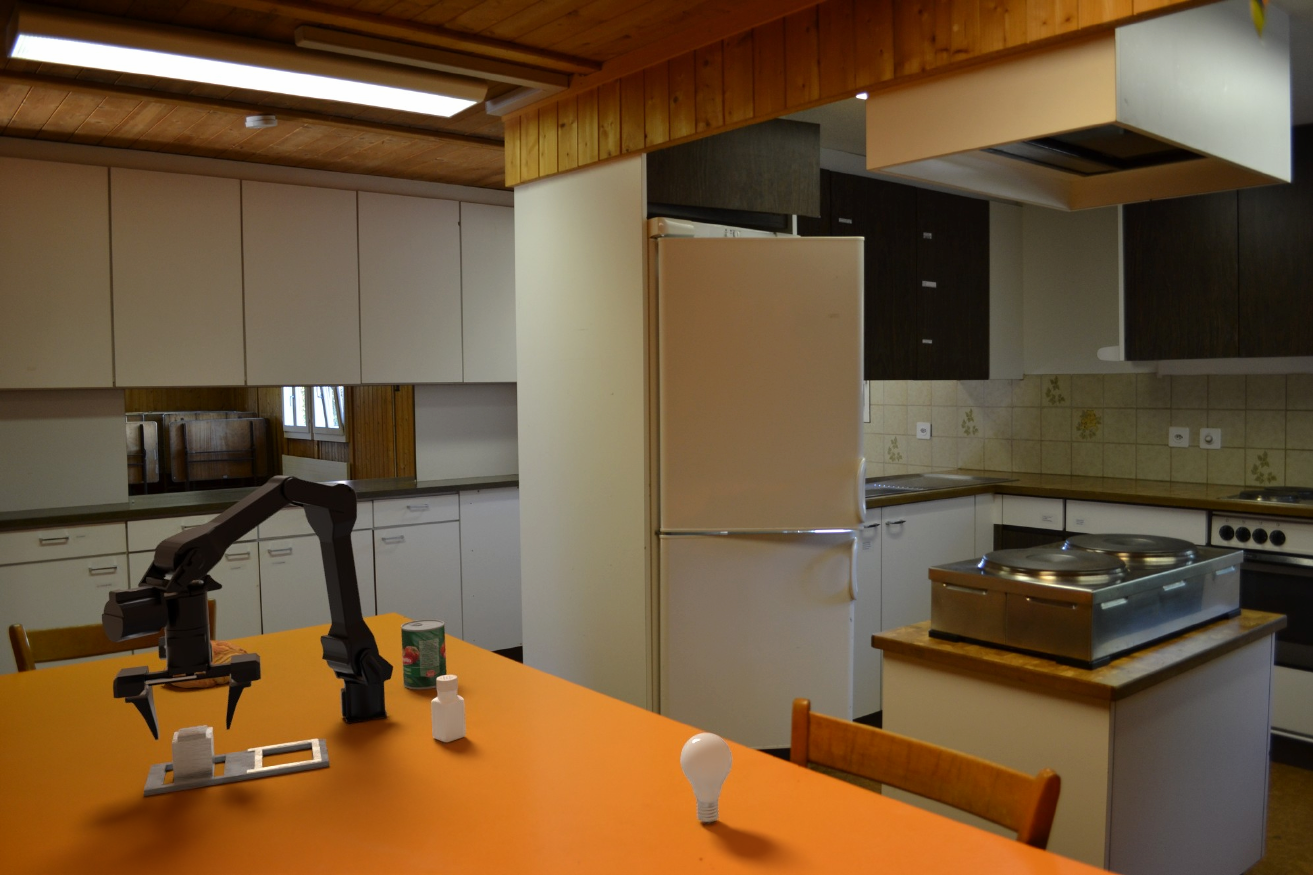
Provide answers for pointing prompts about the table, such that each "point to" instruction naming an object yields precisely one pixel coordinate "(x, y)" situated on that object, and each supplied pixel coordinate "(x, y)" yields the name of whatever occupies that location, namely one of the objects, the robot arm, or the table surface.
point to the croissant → (220, 655)
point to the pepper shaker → (448, 710)
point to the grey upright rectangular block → (193, 753)
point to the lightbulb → (706, 771)
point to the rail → (242, 766)
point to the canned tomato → (423, 653)
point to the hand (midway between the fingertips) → (193, 733)
